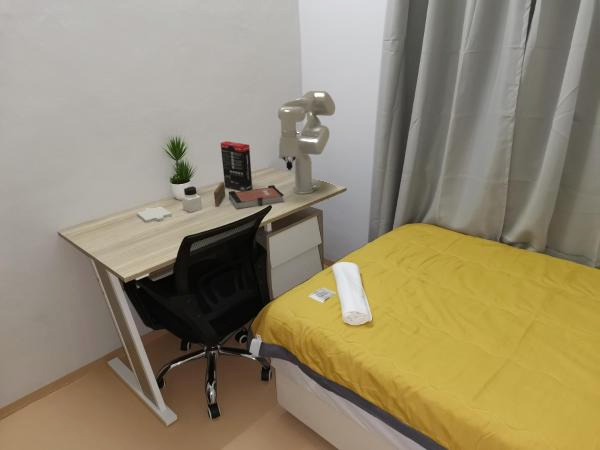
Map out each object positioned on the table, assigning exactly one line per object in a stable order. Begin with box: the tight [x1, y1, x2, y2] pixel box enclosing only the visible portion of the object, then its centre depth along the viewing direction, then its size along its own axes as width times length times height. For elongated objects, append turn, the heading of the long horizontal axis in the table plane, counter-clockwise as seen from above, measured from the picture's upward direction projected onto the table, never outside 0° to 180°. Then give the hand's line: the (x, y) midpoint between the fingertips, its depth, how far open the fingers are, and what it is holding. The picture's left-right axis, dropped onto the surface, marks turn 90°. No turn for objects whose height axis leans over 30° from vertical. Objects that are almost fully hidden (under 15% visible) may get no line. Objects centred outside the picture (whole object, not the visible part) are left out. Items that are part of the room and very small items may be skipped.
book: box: [228, 184, 285, 210], centre depth 218 cm, size 26×18×5 cm
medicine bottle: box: [181, 185, 203, 213], centre depth 207 cm, size 7×7×12 cm
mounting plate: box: [136, 206, 173, 224], centre depth 202 cm, size 18×13×2 cm
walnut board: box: [213, 181, 226, 208], centre depth 218 cm, size 2×17×8 cm, turn 177°
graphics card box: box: [220, 141, 253, 192], centre depth 233 cm, size 17×7×27 cm, turn 58°
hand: (289, 169), depth 209 cm, fingers closed
